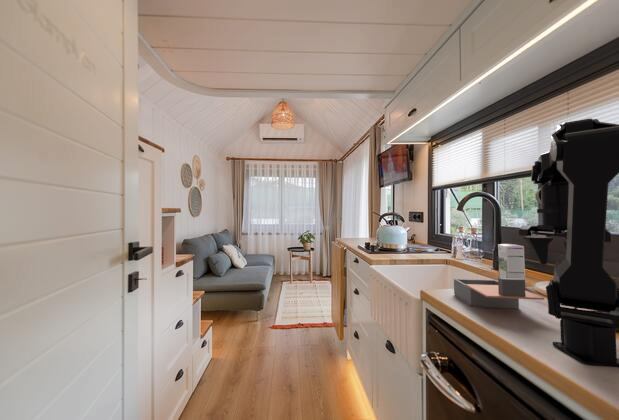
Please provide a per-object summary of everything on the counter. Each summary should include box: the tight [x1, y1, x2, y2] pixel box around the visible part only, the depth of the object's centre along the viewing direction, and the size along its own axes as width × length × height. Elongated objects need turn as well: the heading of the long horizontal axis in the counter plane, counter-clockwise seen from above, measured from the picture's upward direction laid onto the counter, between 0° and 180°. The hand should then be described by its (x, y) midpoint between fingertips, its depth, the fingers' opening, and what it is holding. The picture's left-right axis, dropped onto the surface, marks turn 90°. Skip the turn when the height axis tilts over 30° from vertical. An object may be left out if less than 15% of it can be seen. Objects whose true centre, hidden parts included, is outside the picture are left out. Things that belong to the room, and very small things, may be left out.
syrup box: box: [497, 243, 527, 288], centre depth 89 cm, size 6×6×14 cm
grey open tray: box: [453, 278, 520, 309], centre depth 71 cm, size 10×12×5 cm
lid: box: [466, 277, 545, 301], centre depth 64 cm, size 10×12×4 cm
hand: (559, 267), depth 60 cm, fingers open, 9 cm apart
